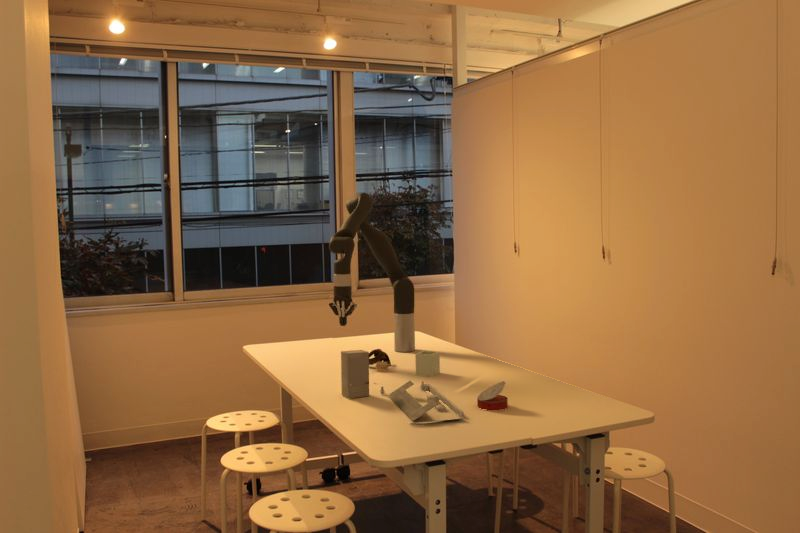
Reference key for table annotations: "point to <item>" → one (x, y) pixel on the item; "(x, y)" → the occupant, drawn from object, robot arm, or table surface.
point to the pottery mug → (378, 357)
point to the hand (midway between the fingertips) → (343, 325)
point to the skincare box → (355, 373)
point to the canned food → (493, 398)
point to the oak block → (381, 366)
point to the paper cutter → (414, 407)
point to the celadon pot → (427, 363)
